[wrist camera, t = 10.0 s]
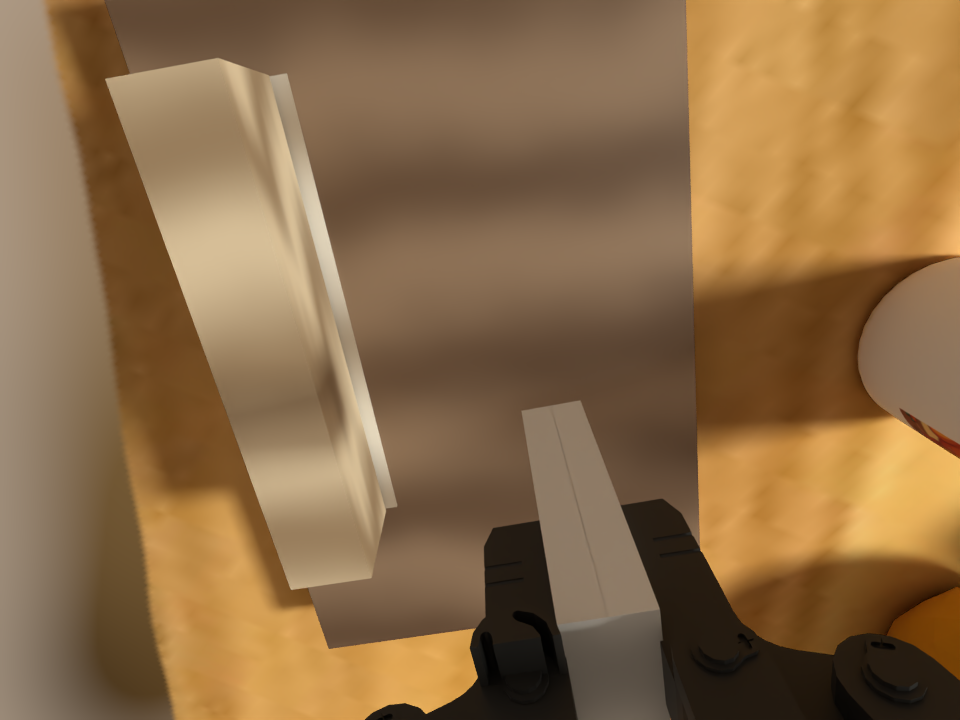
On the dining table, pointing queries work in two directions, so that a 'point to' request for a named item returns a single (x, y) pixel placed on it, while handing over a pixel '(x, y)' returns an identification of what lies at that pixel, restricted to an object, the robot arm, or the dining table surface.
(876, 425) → the dining table surface
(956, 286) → the milk bottle
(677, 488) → the stool seat
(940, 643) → the apple
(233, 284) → the folding leg
